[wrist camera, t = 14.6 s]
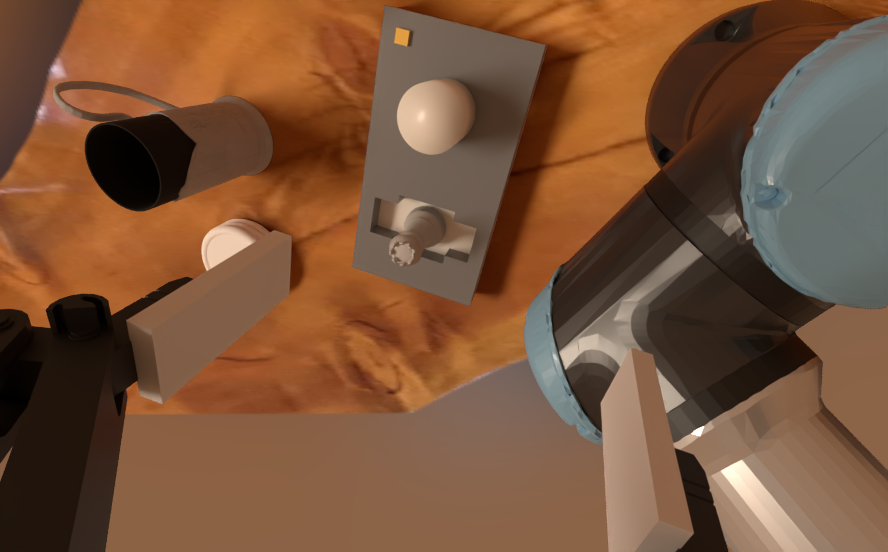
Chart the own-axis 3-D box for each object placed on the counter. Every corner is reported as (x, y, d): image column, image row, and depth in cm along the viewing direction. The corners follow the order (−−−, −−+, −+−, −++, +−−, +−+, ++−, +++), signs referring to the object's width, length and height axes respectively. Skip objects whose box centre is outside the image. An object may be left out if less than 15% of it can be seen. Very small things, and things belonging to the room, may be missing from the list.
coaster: (220, 205, 56) (199, 214, 53) (291, 235, 55) (275, 246, 52) (217, 271, 61) (198, 282, 58) (282, 299, 60) (267, 312, 57)
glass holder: (254, 190, 54) (150, 237, 41) (156, 107, 52) (16, 129, 39) (285, 133, 49) (181, 166, 36) (179, 41, 48) (31, 41, 35)
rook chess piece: (404, 236, 50) (376, 267, 43) (411, 199, 48) (382, 225, 41) (442, 248, 49) (419, 282, 42) (451, 211, 47) (429, 240, 40)
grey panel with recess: (547, 45, 39) (540, 45, 32) (475, 293, 52) (459, 331, 45) (397, 7, 41) (359, 0, 34) (363, 256, 54) (331, 287, 47)
